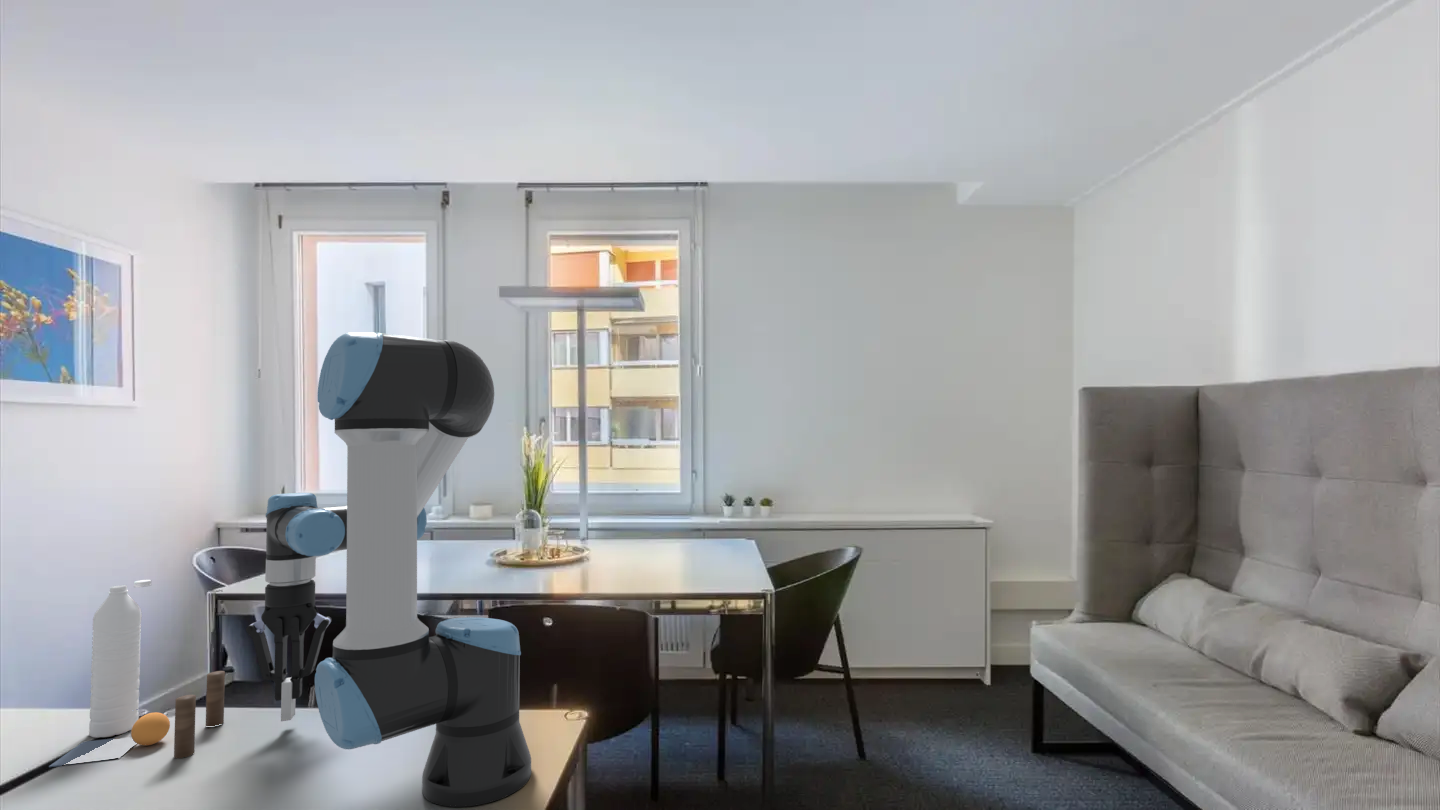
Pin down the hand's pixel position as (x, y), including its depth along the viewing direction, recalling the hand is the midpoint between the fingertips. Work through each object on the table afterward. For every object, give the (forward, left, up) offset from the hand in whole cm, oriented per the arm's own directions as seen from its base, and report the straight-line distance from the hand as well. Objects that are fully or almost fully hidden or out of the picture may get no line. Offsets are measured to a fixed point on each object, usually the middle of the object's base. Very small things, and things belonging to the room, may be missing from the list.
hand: (288, 717), depth 120 cm
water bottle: (+10, +28, -2) cm, 30 cm away
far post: (+6, +13, -2) cm, 14 cm away
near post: (-6, +13, -2) cm, 14 cm away
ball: (0, +20, +1) cm, 20 cm away
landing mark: (0, +27, -2) cm, 27 cm away
